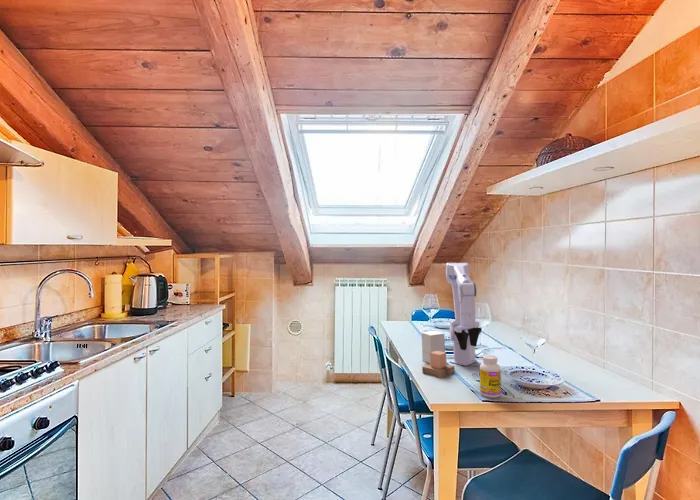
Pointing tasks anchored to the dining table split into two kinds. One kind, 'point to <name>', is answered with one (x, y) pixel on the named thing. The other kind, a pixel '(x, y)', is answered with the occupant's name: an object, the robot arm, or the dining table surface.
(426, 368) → the walnut box
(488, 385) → the supplement bottle
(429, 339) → the supplement box
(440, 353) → the terracotta block
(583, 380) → the dining table surface
